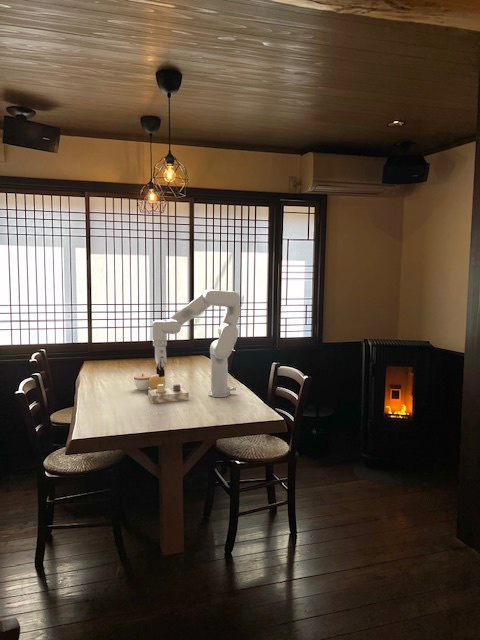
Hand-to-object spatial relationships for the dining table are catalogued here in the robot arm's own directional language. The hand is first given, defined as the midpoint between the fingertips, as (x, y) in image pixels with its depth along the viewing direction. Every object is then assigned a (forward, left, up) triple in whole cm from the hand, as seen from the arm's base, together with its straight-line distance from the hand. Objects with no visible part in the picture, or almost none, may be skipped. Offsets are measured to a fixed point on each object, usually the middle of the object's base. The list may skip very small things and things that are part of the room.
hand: (160, 375), depth 260 cm
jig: (-4, 0, -14) cm, 14 cm away
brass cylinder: (0, 0, -14) cm, 14 cm away
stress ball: (-1, -18, -14) cm, 23 cm away
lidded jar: (+6, -26, -14) cm, 30 cm away
